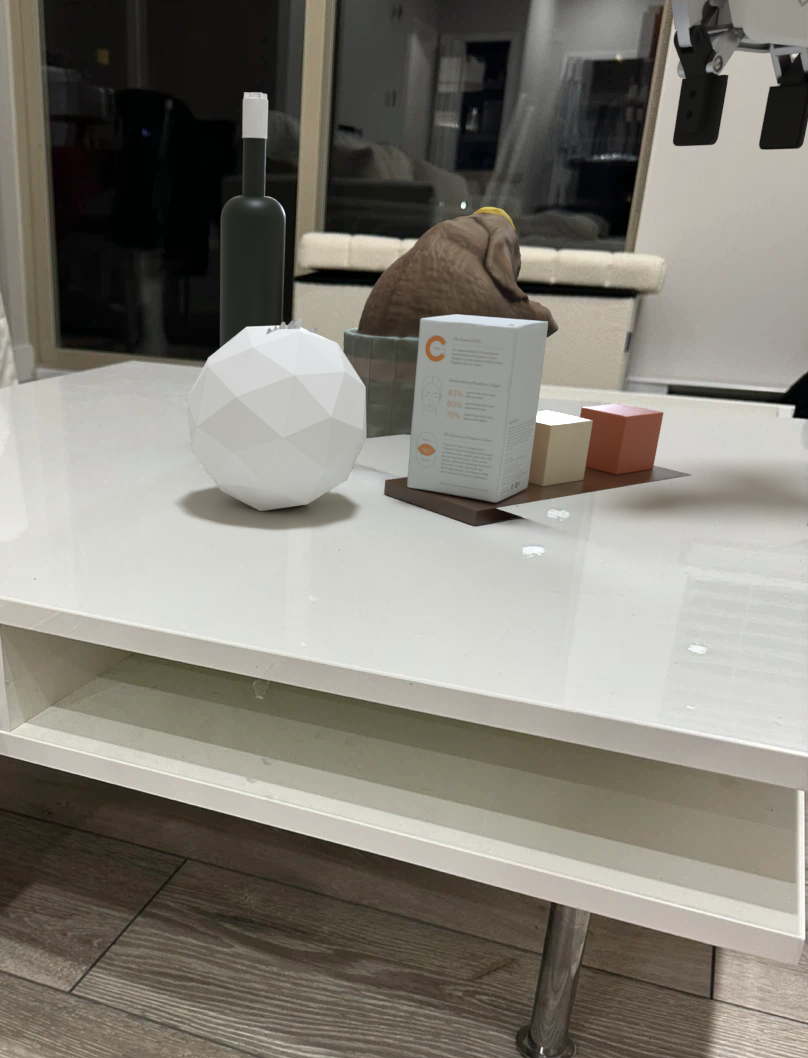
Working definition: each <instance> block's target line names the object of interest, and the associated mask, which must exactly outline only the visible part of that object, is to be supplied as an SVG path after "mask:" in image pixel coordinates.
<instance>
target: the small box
mask: <svg viewBox="0 0 808 1058" xmlns="http://www.w3.org/2000/svg"><path fill="white" fill-rule="evenodd" d="M547 329H548V322H547V321H534V320H521V319H509V318H496V317H483V316H471V315H460V314H454V315H445V316H436V317H428V318H422V319H420V330H419V344H418V356H417V368H416V380H415V392H414V405H413V416H412V428H411V435H410V443H409V452H408V453H409V455H408V467H407V477H408V479H407V487H410V488H416V489H422V490H428V491H434V492H440V493H445V494H451V495H457V496H462V497H468V498H473V499H479V500H484V501H489V502H494V503H496V502H499V501H501V500H503V499H506V498H508V497H510V496H512V495H514V494H516V493H518V492H520V491H522V490H524V489H526V488H527V487H528V480H529V472H530V464H531V456H532V449H533V442H534V434H535V426H536V418H537V412H538V409H539V400H540V392H541V385H542V378H543V369H544V361H545V352H546V345H547V338H548V337H547ZM546 337H547V338H546Z"/></svg>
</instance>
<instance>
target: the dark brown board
mask: <svg viewBox="0 0 808 1058" xmlns="http://www.w3.org/2000/svg"><path fill="white" fill-rule="evenodd" d="M689 476H692V474H690V473H686V472H683V471H678V470H675V469H671V468H666V467H663V466H659V465H654V466H653V469H650V470H644V471H637V472H631V473H625V474H619V475H615V474H611V473H607V472H603V471H599V470H596V469H592V468H588V467H585V473H584V479H583V480H580V481H574V482H567V483H561V484H555V485H548V486H539V485H536V484H533V483H529V482H528V487H527V488H526V489H524V490H522V491H520V492H518V493H516V494H514V495H512V496H510V497H508V498H506V499H503V500H501V501H499V502H496V503H494V502H489V501H484V500H479V499H473V498H468V497H462V496H457V495H451V494H445V493H440V492H434V491H428V490H422V489H416V488H410V487H407V479H408V476H404V477H403V476H402V477H397V478H392V479H391V478H389V479H385V480H384V489H383V494H384V495H386V496H389V497H392V498H395V499H398V500H400V501H404V502H406V503H409V504H412V505H415V506H418V507H420V508H423V509H426V510H429V511H432V512H435V513H437V514H440V515H443V516H446V517H449V518H452V519H454V520H457V521H460V522H463V523H466V524H469V525H472V526H483V525H487V524H493V523H498V522H504V521H509V520H514V519H515V518H516V519H520V518H522V516H521V515H517V514H515V513H512V512H508V511H506V510H503V509H500V508H504V507H505V508H506V507H510V506H516V505H522V504H528V503H534V502H540V501H546V500H551V499H557V498H564V497H570V496H575V495H581V494H587V493H593V492H600V491H605V490H612V489H617V488H624V487H629V486H630V487H631V486H637V485H642V484H649V483H653V482H660V481H665V480H671V479H678V478H683V477H684V478H685V477H689Z"/></svg>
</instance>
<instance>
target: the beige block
mask: <svg viewBox="0 0 808 1058" xmlns="http://www.w3.org/2000/svg"><path fill="white" fill-rule="evenodd" d="M592 423H593V421H592V420H589V419H584V418H580V416H574V415H570V414H565V413H561V412H556V411H551V410H542V411H537V418H536V426H535V434H534V442H533V449H532V456H531V464H530V472H529V480H528V482H529V483H533V484H536V485H539V486H548V485H555V484H561V483H567V482H574V481H580V480H583V479H584V473H585V467H586V460H587V454H588V448H589V442H590V436H591V429H592Z"/></svg>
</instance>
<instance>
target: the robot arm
mask: <svg viewBox="0 0 808 1058" xmlns="http://www.w3.org/2000/svg"><path fill="white" fill-rule="evenodd" d="M671 10H672V18H673V26H674V27H673V28H674V30H675V32H674V35H673V45H674V49H675V51H676V54H677V56H678V59H679V61H678V64H677V69H676V71H677V72H676V73H677V76H678V77H679V78H681V84H680V92H679V97H678V98H679V99H678V104H677V111H676V116H675V124H674V130H673V136H672V144H673V145H674V146H675V147H695V146H714V145H715V144H717V142H718V140H719V135H720V129H721V123H722V117H723V112H724V106H725V100H726V95H727V90H728V89H727V88H728V80H729V74H721V73H722V72H723V70H724V68H725V67H726V65H727V64H728V62H729V60H730V59H731V58H732V56H733V55H734V53H735V51H736V52H743V53H751V54H752V53H753V54H769V55H770V58H771V62H772V67H773V71H774V75H775V79H776V80H775V81H776V83H777V85H770V86H769V88H768V93H767V98H766V104H765V109H764V115H763V120H762V125H761V130H760V136H759V142H758V147H759V149H760V150H763V151H764V150H765V151H770V150H771V151H772V150H798V149H800V148H801V147H802V146H803V145H804V143H805V138H806V133H807V127H808V0H671ZM796 54H797V55H796ZM791 55H796V57H795V58H794V59H793V60H792V57H791Z"/></svg>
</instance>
